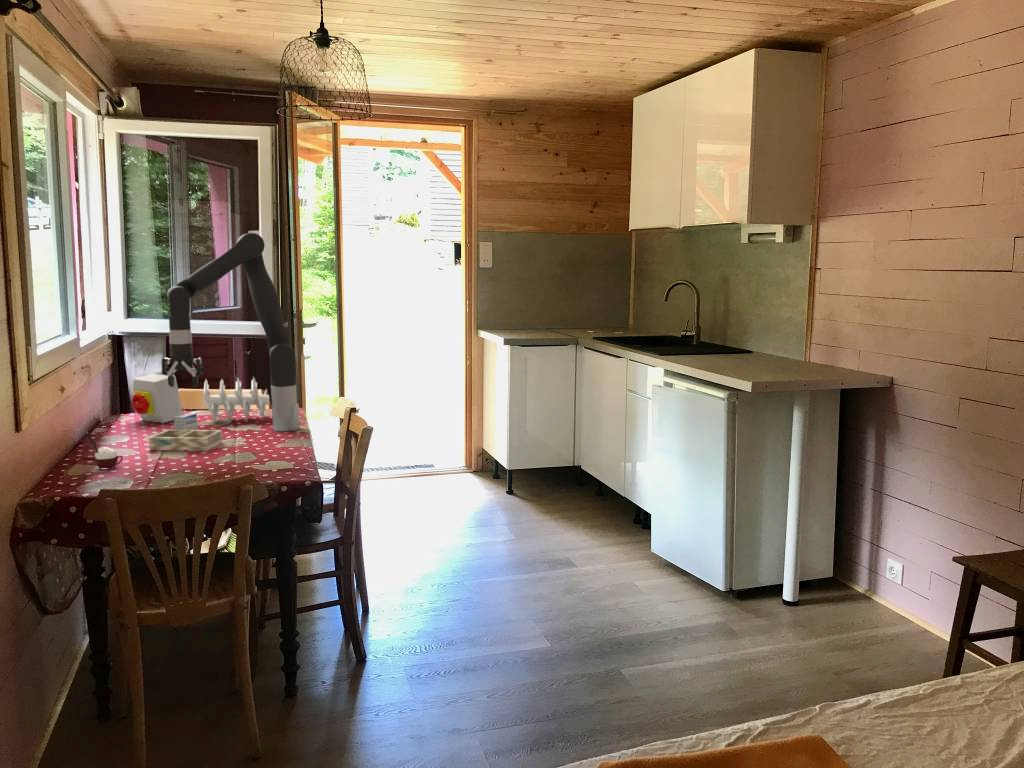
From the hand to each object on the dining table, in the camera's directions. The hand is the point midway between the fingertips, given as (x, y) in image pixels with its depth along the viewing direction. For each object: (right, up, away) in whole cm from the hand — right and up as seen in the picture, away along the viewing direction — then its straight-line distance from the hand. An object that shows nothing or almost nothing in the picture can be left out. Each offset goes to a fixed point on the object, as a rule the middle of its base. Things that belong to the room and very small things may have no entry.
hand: (183, 386), depth 291 cm
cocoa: (-8, -26, -39) cm, 48 cm away
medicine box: (0, -19, +3) cm, 19 cm away
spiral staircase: (+8, -14, +35) cm, 39 cm away
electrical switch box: (-25, -14, +34) cm, 45 cm away
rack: (+5, -21, -10) cm, 24 cm away
